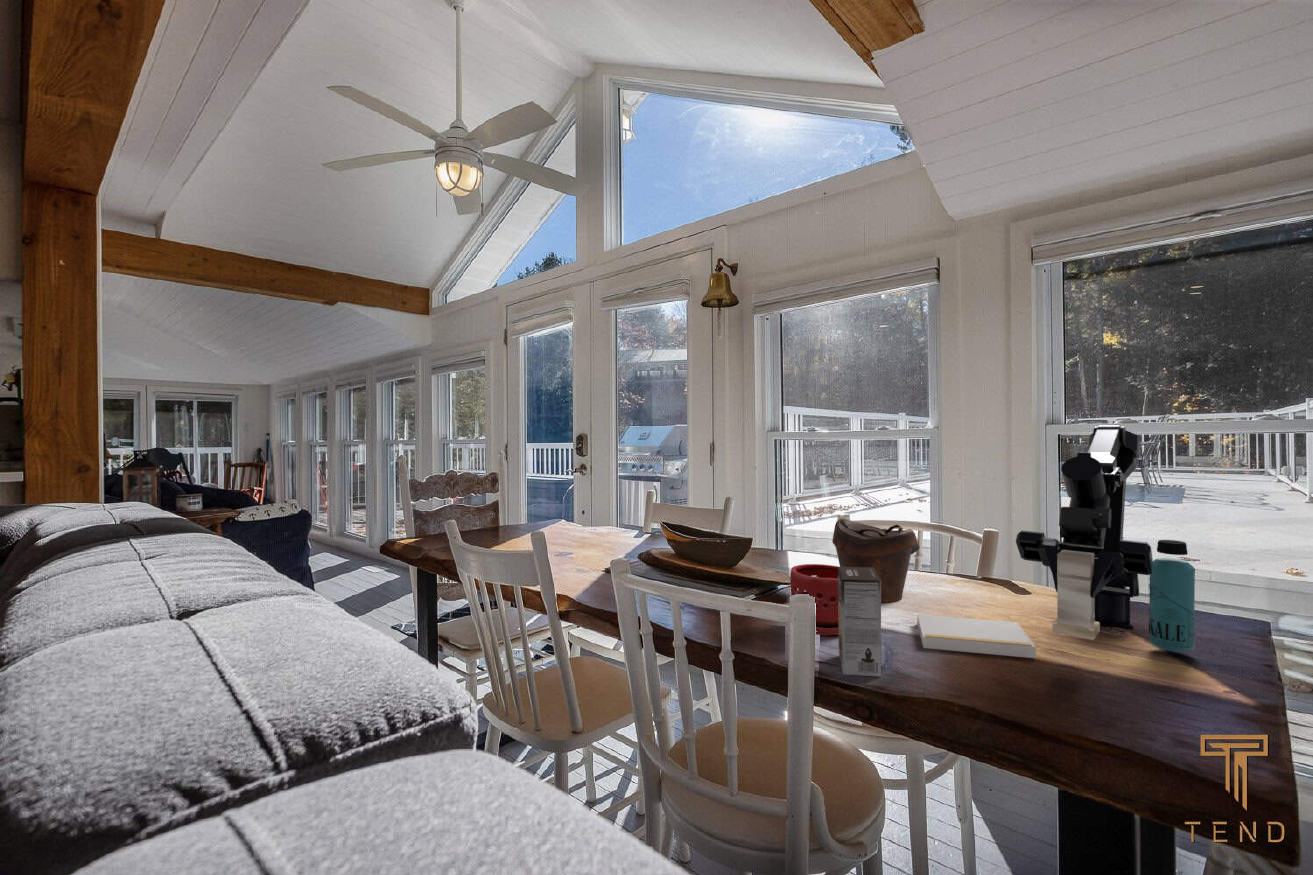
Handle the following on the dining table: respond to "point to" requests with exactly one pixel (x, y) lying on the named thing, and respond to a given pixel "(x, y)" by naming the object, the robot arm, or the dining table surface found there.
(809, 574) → the plant pot
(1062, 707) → the dining table surface
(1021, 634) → the white rectangular slab
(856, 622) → the coffee box
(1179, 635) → the beverage bottle
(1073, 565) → the white stepped pillar
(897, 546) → the brown tapered planter
